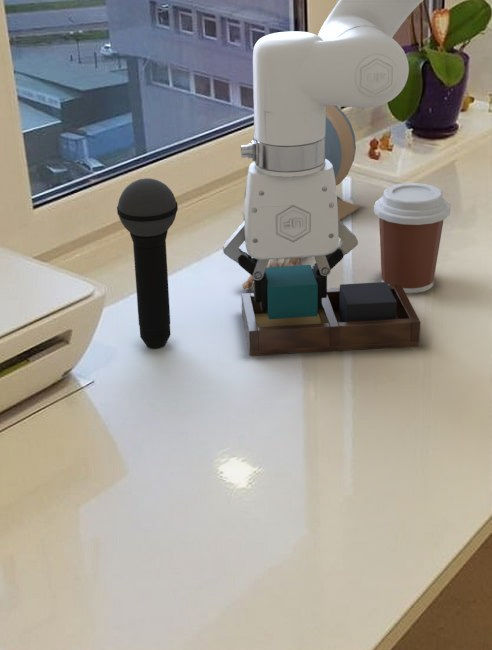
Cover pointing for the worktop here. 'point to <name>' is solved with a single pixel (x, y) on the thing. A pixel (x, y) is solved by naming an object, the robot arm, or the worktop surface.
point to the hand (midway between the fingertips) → (290, 303)
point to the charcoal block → (366, 302)
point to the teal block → (291, 292)
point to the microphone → (150, 253)
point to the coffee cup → (410, 234)
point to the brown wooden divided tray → (328, 328)
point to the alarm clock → (340, 151)
